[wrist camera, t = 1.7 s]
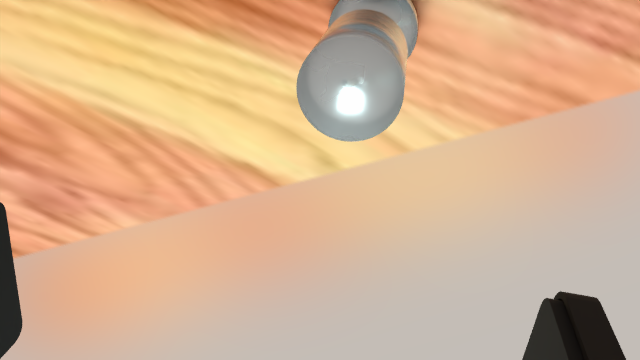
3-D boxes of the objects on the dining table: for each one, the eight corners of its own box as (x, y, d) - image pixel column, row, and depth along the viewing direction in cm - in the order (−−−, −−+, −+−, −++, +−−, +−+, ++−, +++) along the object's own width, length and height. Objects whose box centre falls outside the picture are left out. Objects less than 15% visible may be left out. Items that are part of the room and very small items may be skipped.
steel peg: (424, -14, 32) (426, 35, 20) (409, 72, 34) (403, 160, 23) (338, -25, 33) (291, 16, 21) (328, 60, 35) (281, 140, 23)
